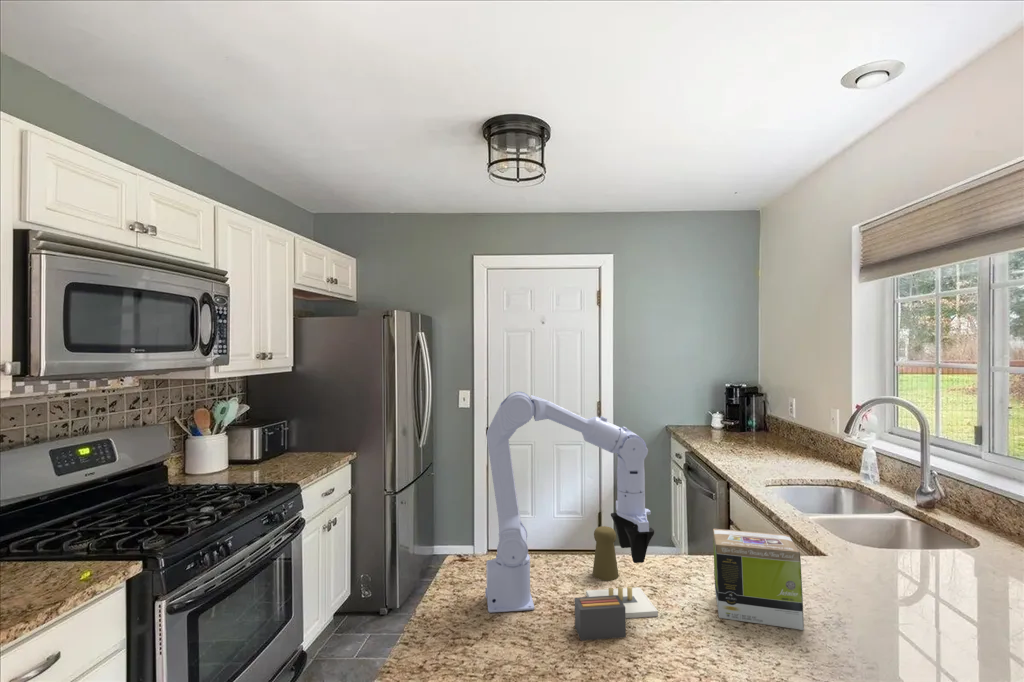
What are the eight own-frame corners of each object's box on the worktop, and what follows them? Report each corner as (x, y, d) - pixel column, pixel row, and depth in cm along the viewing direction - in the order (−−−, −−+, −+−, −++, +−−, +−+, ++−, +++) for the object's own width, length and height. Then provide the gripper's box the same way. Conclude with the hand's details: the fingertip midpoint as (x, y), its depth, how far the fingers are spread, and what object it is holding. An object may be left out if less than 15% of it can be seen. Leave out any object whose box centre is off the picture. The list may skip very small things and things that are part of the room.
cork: (618, 581, 112) (618, 533, 112) (592, 579, 113) (591, 531, 113) (618, 570, 118) (617, 524, 118) (593, 568, 119) (592, 522, 119)
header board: (599, 620, 96) (598, 602, 96) (586, 595, 106) (586, 578, 106) (658, 616, 97) (657, 598, 97) (639, 591, 107) (639, 575, 107)
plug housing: (580, 640, 89) (580, 608, 89) (574, 626, 93) (574, 596, 94) (625, 637, 90) (625, 605, 90) (618, 623, 94) (617, 594, 94)
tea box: (792, 606, 100) (791, 533, 101) (804, 632, 91) (802, 552, 91) (713, 595, 105) (712, 526, 106) (717, 619, 96) (715, 543, 96)
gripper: (663, 498, 97) (664, 568, 96) (636, 480, 111) (637, 540, 111) (628, 500, 96) (629, 570, 95) (606, 481, 110) (607, 542, 110)
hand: (631, 554), depth 103 cm, fingers open, 7 cm apart
